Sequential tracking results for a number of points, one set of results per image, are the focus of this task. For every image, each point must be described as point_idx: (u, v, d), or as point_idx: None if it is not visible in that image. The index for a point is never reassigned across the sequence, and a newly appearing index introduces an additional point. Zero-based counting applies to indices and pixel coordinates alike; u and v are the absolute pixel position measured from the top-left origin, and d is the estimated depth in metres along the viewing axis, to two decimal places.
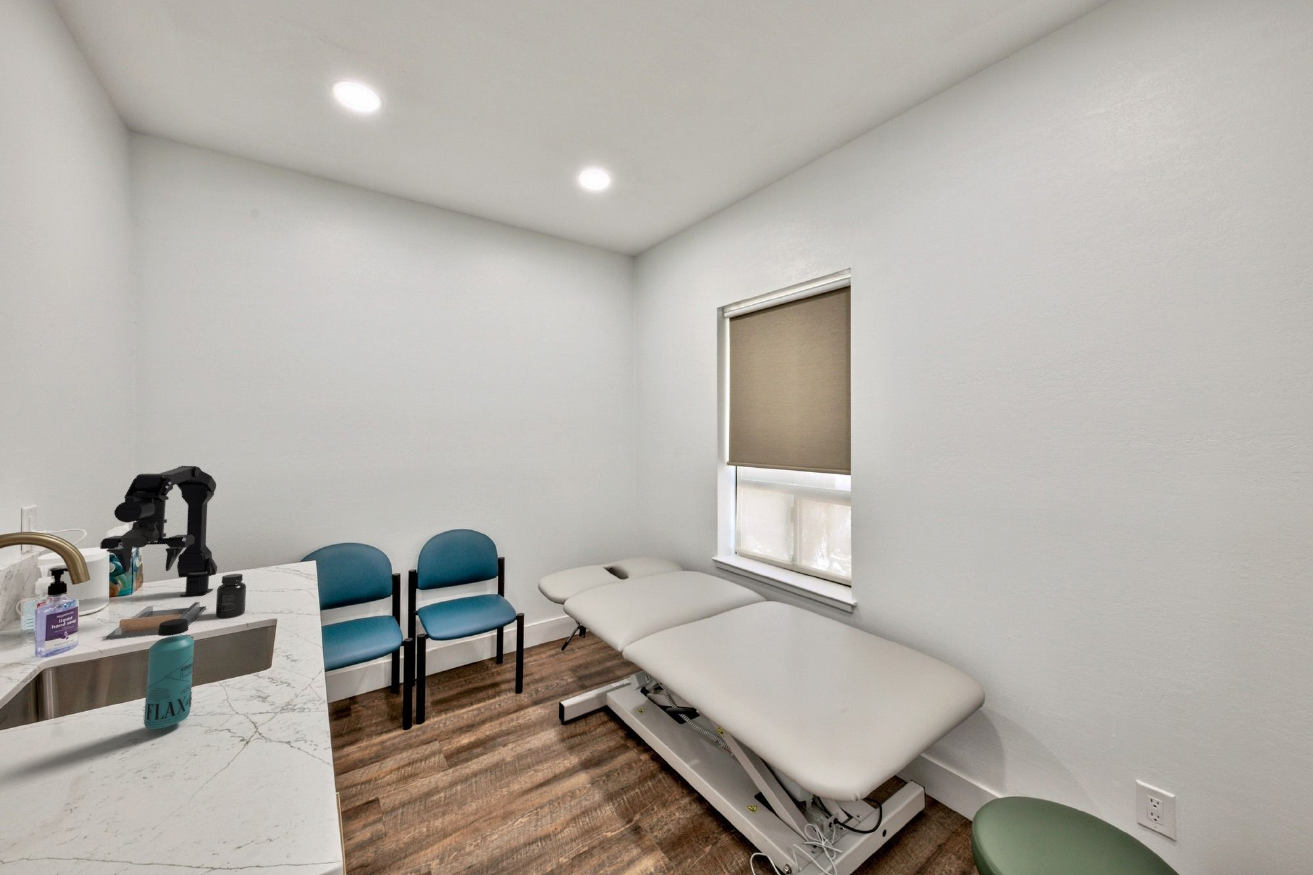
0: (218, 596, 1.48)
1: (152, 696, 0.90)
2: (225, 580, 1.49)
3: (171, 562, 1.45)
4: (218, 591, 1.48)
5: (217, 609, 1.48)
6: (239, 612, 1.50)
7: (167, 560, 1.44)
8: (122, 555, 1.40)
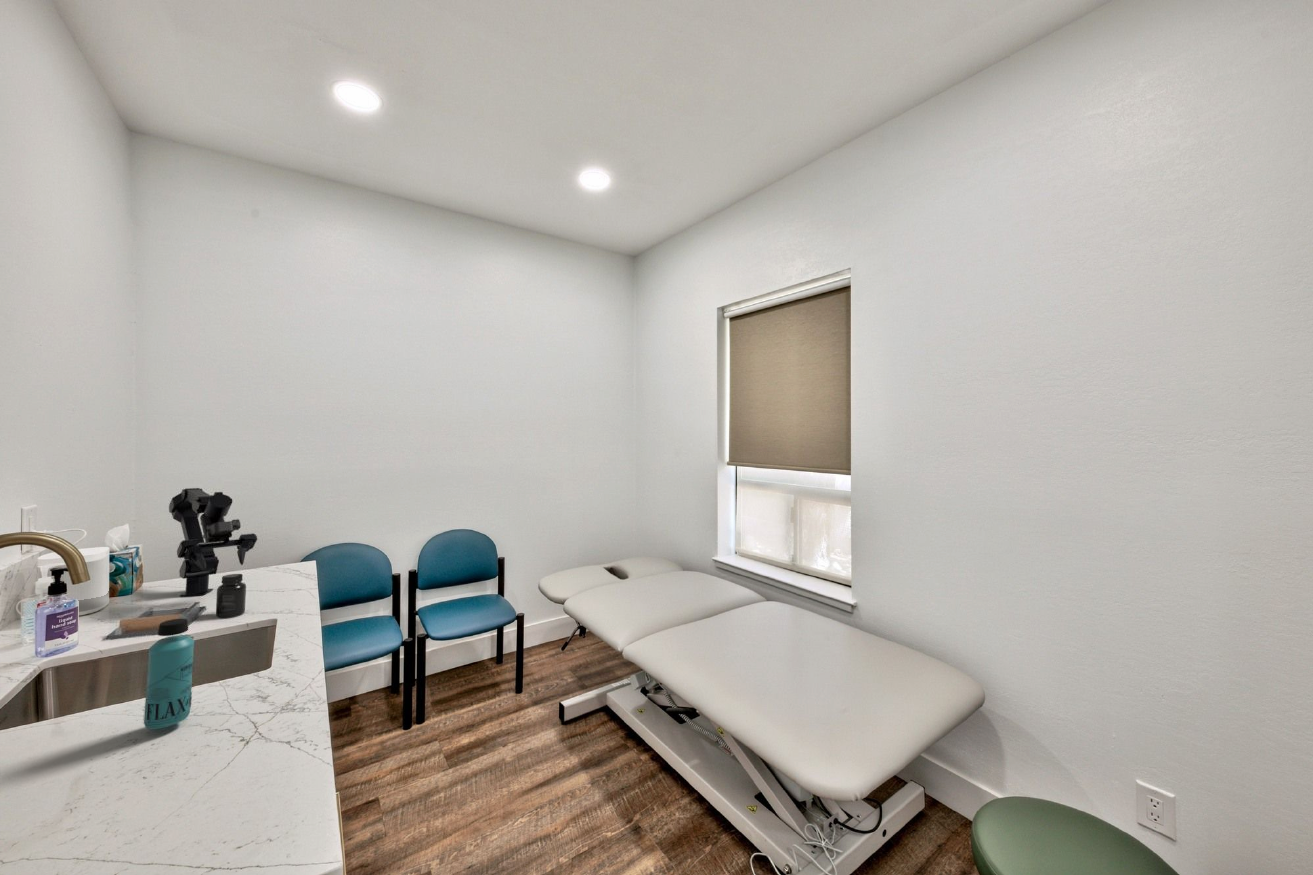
0: (218, 596, 1.48)
1: (152, 696, 0.90)
2: (225, 580, 1.49)
3: None
4: (218, 591, 1.48)
5: (217, 609, 1.48)
6: (239, 612, 1.50)
7: (242, 553, 1.61)
8: (201, 553, 1.53)
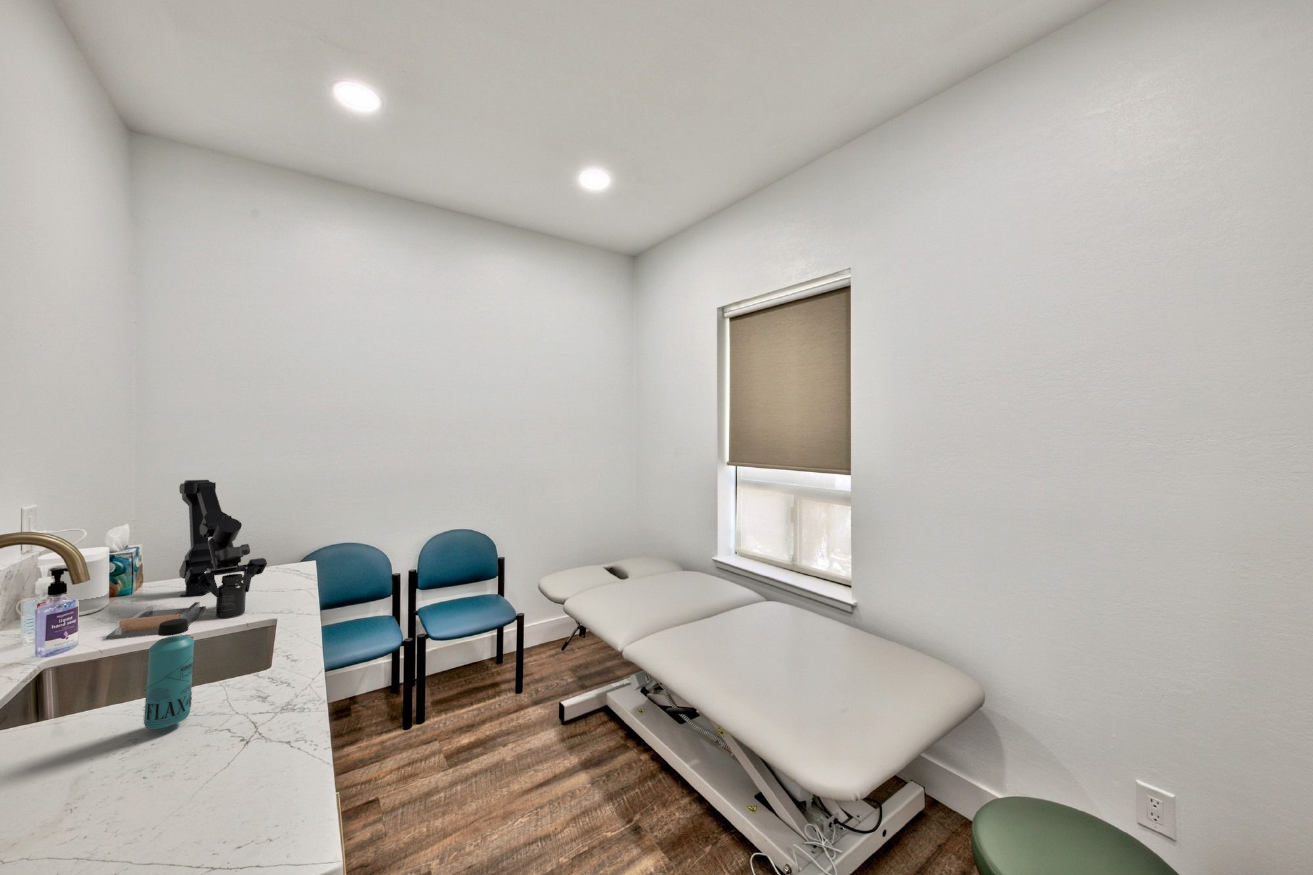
0: None
1: (152, 696, 0.90)
2: (225, 580, 1.49)
3: (249, 583, 1.55)
4: None
5: (217, 609, 1.48)
6: (239, 612, 1.50)
7: (247, 580, 1.55)
8: (214, 579, 1.49)
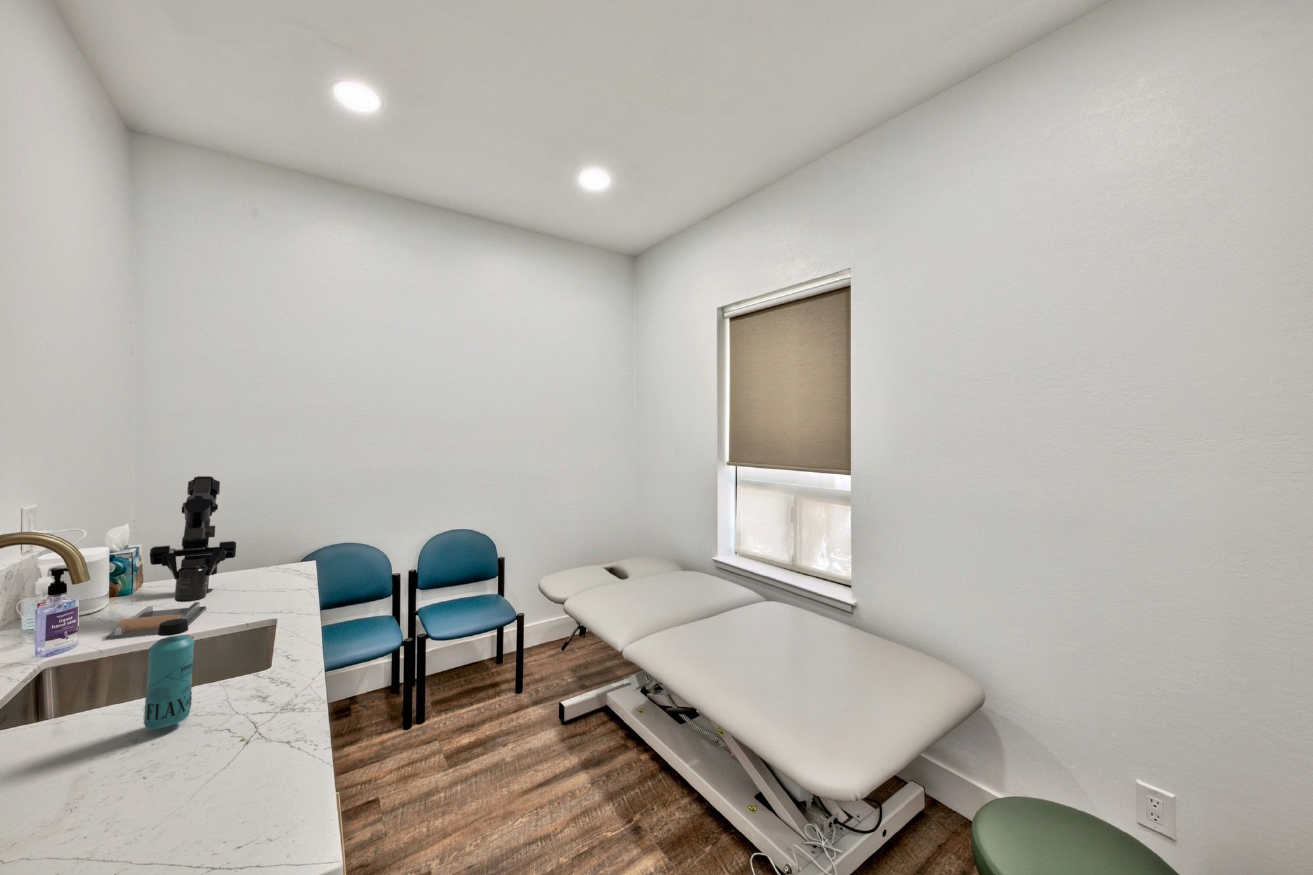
0: None
1: (152, 696, 0.90)
2: (184, 562, 1.43)
3: (213, 567, 1.48)
4: (177, 573, 1.42)
5: (175, 592, 1.42)
6: (195, 597, 1.43)
7: (211, 563, 1.47)
8: (175, 560, 1.43)
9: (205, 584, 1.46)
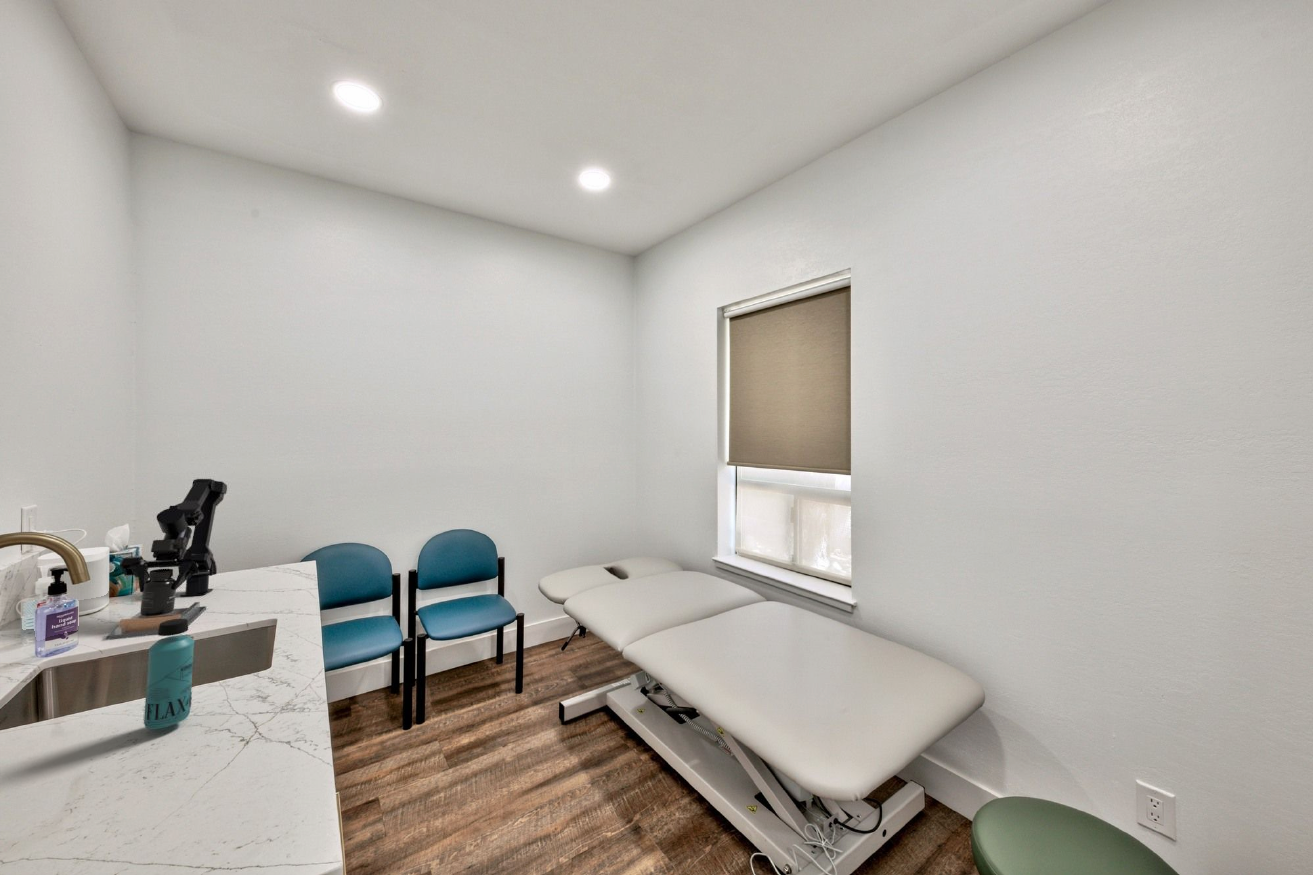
0: (142, 591, 1.39)
1: (152, 696, 0.90)
2: (149, 574, 1.39)
3: (181, 580, 1.43)
4: (143, 585, 1.39)
5: (141, 605, 1.39)
6: (158, 611, 1.39)
7: (178, 576, 1.43)
8: (144, 572, 1.40)
9: (170, 598, 1.41)
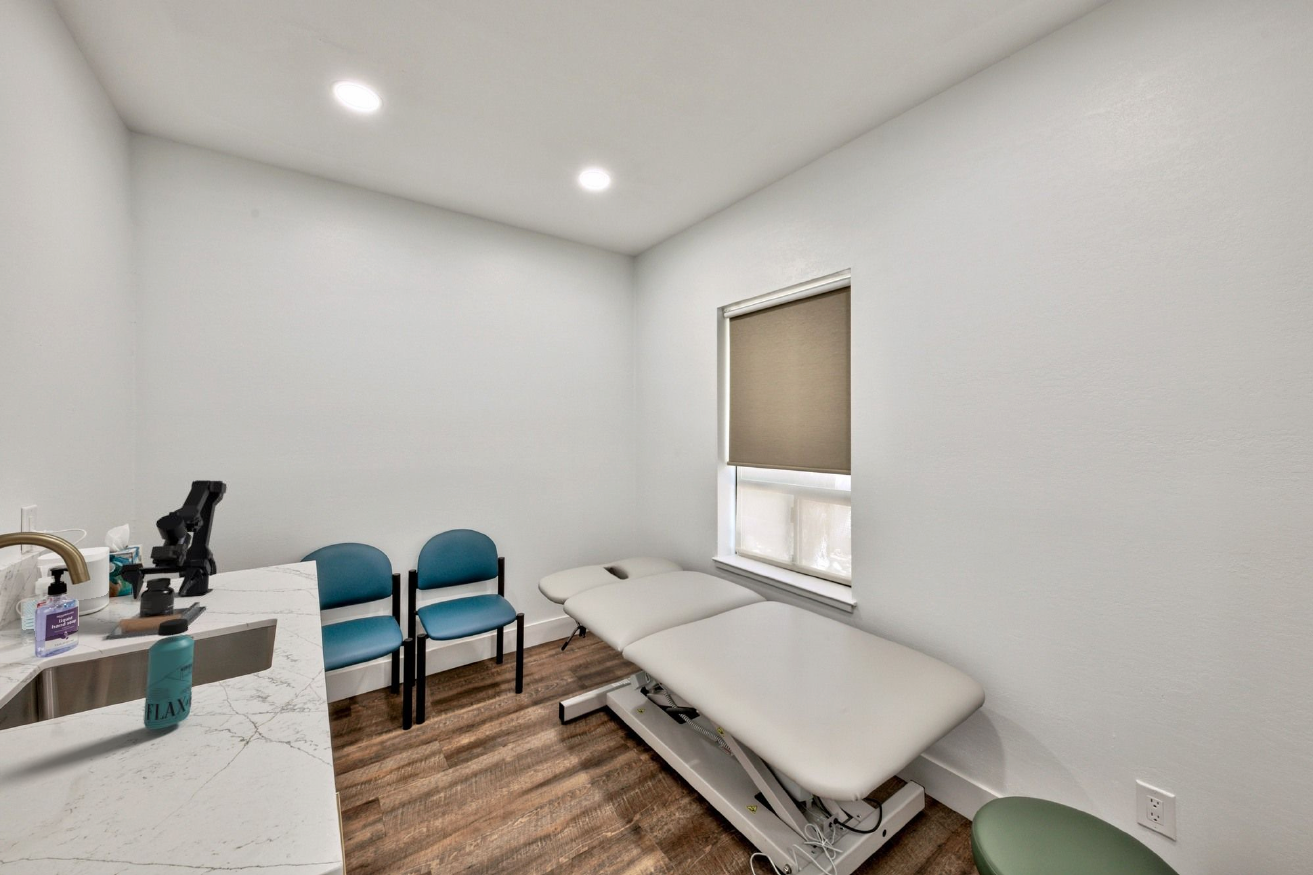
0: (140, 601, 1.39)
1: (152, 696, 0.90)
2: (147, 584, 1.39)
3: (185, 586, 1.44)
4: (141, 595, 1.39)
5: None
6: None
7: (183, 582, 1.43)
8: (137, 579, 1.40)
9: (169, 607, 1.41)
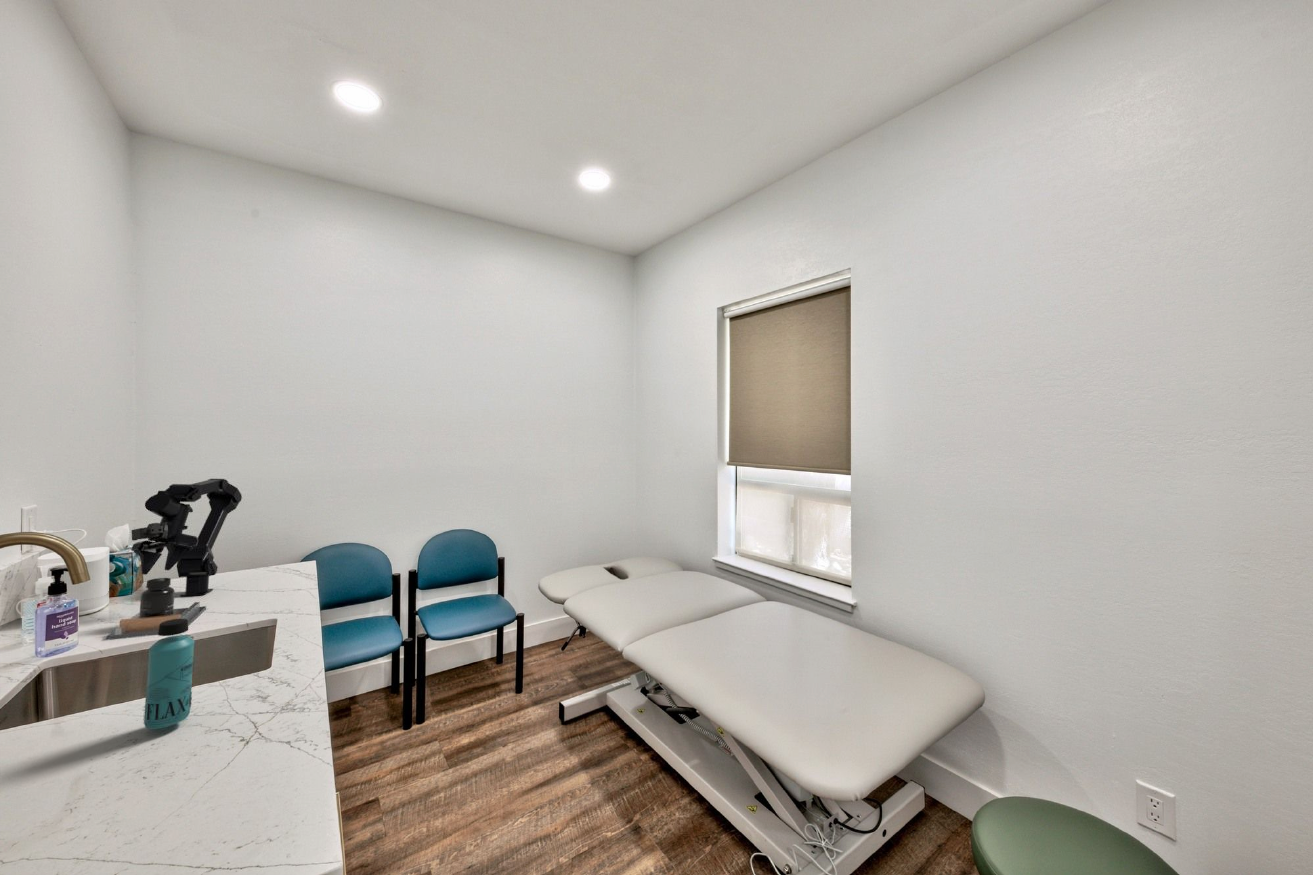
0: (140, 601, 1.39)
1: (152, 696, 0.90)
2: (147, 584, 1.39)
3: (170, 561, 1.49)
4: (141, 595, 1.39)
5: None
6: None
7: (167, 558, 1.48)
8: (143, 556, 1.51)
9: (169, 607, 1.41)
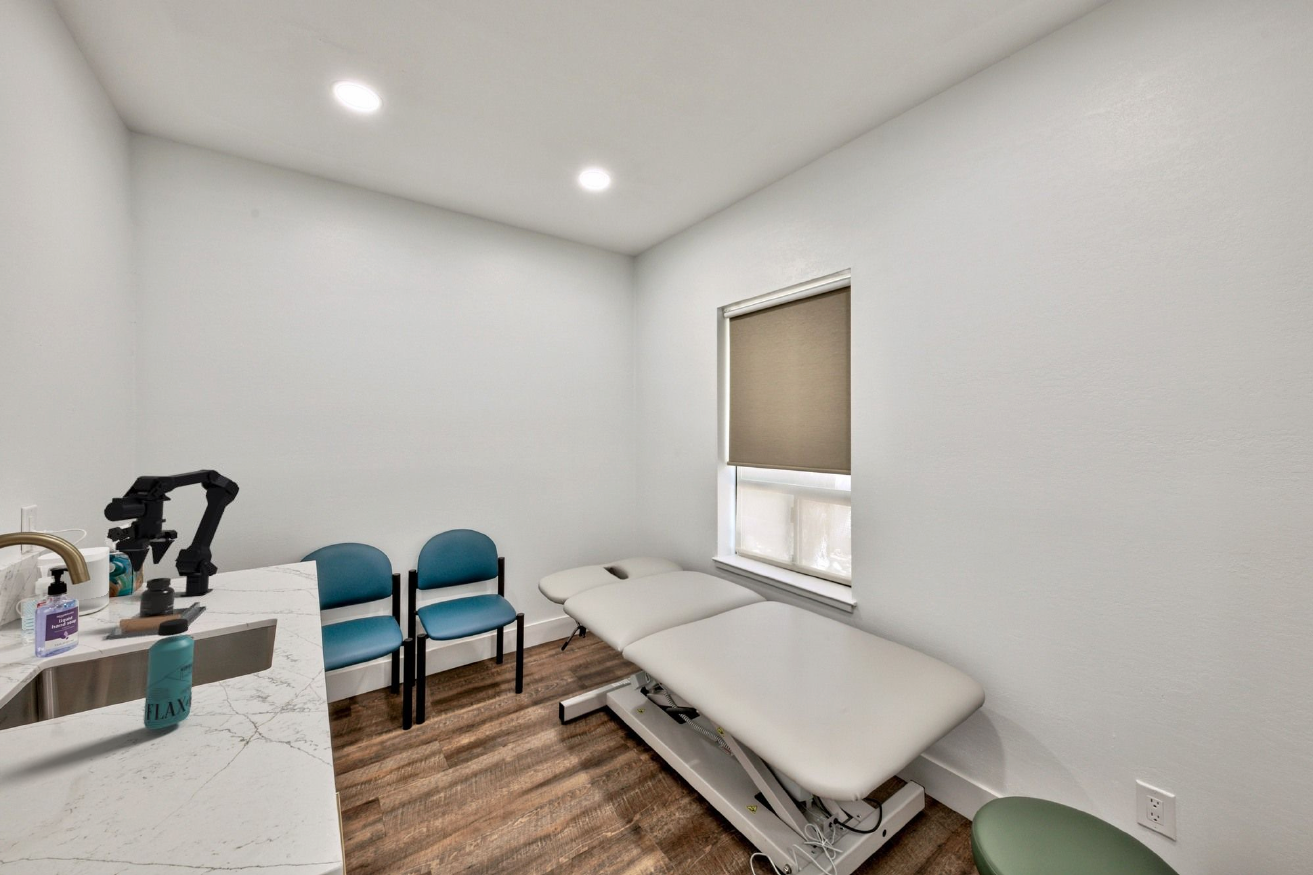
0: (140, 601, 1.39)
1: (152, 696, 0.90)
2: (147, 584, 1.39)
3: (134, 563, 1.47)
4: (141, 595, 1.39)
5: None
6: None
7: None
8: None
9: (169, 607, 1.41)
